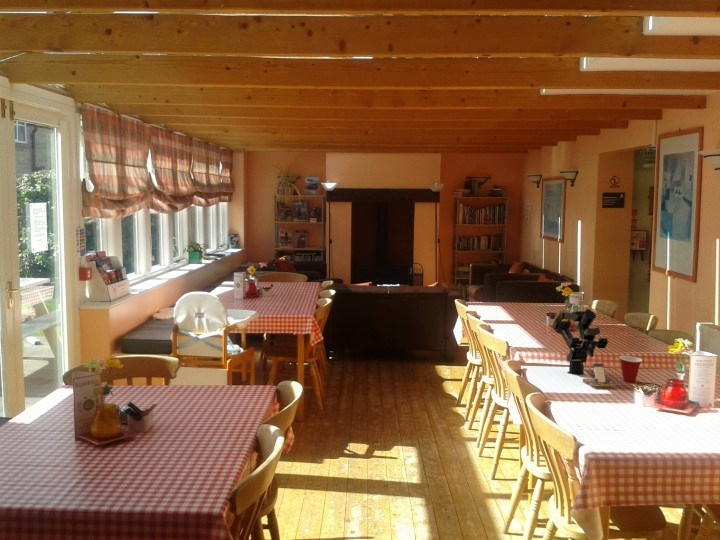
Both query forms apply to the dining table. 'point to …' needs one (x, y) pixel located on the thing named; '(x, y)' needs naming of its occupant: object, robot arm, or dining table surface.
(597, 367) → the switch lever
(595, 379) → the switch base
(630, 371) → the plastic cup
